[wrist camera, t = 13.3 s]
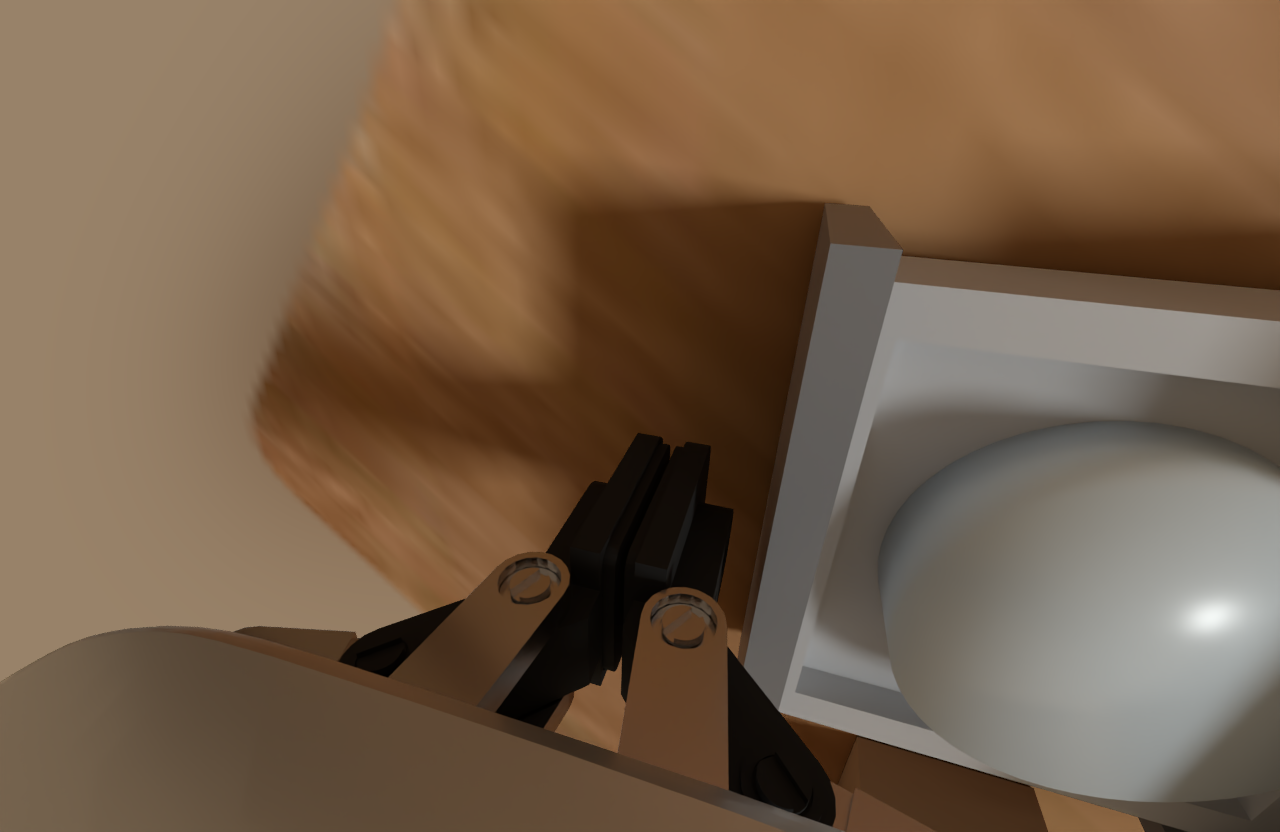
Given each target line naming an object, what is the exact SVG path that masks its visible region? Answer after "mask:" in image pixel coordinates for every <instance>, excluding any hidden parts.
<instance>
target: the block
mask: <svg viewBox="0 0 1280 832" xmlns="http://www.w3.org/2000/svg"><path fill="white" fill-rule="evenodd" d="M838 786H840V787H842V788H844V789H845V790H847V791H849V792H851V793H853V792H854V790H855V788H858V789H860V790H861V791H863V792H865V793H867V794H869V795H871V796H872V797H874V798H876V799H878V800H880V801H881V802H883V803H885V804H887V805H889V806H891V807H892V808H894V809H896V810H898V811H900V812H902V813H903V814H905V815H907V816H909V817H911V818H912V819H914V820H916V821H918V822H920V823H922V824H923V825H925V826H927V827H929V828H931V829H932V830H934V831H936V832H1048V830H1047V827H1046V824H1045V821H1044V818H1043V815H1042V812H1041V809H1040V806H1039V803H1038V800H1037V797H1036V794H1035V791H1034V788H1031V787H1028V786H1024V785H1021V784H1017V783H1014V782H1011V781H1007V780H1004V779H1000V778H997V777H994V776H990V775H987V774H983V773H980V772H976V771H973V770H970V769H966V768H963V767H959V766H956V765H953V764H949V763H946V762H942V761H939V760H936V759H932V758H929V757H925V756H922V755H919V754H915V753H912V752H908V751H905V750H901V749H898V748H895V747H891V746H888V745H884V744H881V743H878V742H874V741H871V740H867V739H864V738H861V737H857V738H856V740H855V743H854V745H853V748H852V750H851V753H850V755H849V758H848V760H847V763H846V765H845V768H844V770H843V773H842V775H841V778H840V780H839V783H838Z"/></svg>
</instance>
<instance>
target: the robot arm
mask: <svg viewBox="0 0 1280 832" xmlns="http://www.w3.org/2000/svg"><path fill="white" fill-rule="evenodd" d="M710 452H711V446H708V445H703V444H697V443H692V442H686V443H685V446H684V447H678V446H676V448H675V450H674V452H673V454H672V456H671V458H670V445H667V444H663V439H662V437H658V436H652V435H647V434H641V433H638V434H637V435H636V437H635V439H634V440H633V442H632V444H631V445H630V447H629V449H628V450H627V452H626V454H625V455H624V457H623V459H622V460H621V462H620V464H619V465H618V467H617V469H616V470H615V472H614V474H613V475H612V477H611V479H610V480H609V482H608V484H607V483H603V482H598V481H594V482H592V483H591V484H590V486H589V487H588V489H587V490H586V492H585V493H584V495H583V496H582V498H581V499H580V501H579V502H578V504H577V506H576V507H575V509H574V510H573V512H572V513H571V515H570V516H569V518H568V519H567V521H566V522H565V524H564V526H563V527H562V529H561V530H560V532H559V533H558V535H557V536H556V538H555V539H554V541H553V543H552V544H551V546H550V547H549V549H548V550H547V552H546V553H543V552H527V553H522V554H518V555H515V556H513V557H511V558H509V559H506V560H505V561H504V562H503V563H501V564H500V565H499V566H497V567H496V568H495V569H494V570H493V572H492V573H491V574H490V575H489V576H488V577H487V578H486V579H485V580H484V581H483V582H482V583H481V584H480V585H479V586H478V587H477V588H476V589H475V590H474V591H473V592H472V593H471V594H470V595H469V596H468V597H467V598H466V599H463V600H460V601H457V602H455V603H452V604H449V605H446V606H443V607H440V608H437V609H434V610H431V611H429V612H426V613H423V614H420V615H417V616H414V617H411V618H408V619H405V620H403V621H400V622H397V623H394V624H391V625H388V626H385V627H382V628H379V629H377V630H375V631H373V632H371V633H368V634H366V635H364V636H363V637H362V638H357V636H356V633H355V632H349V631H332V630H315V629H298V628H281V627H265V626H264V627H263V626H257V627H247V628H243V629H240V630H237V631H234V632H231V631H223V630H217V629H210V628H202V627H184V626H157V627H143V628H130V629H123V630H117V631H111V632H107V633H102V634H98V635H93V636H90V637H87V638H84V639H81V640H79V641H76V642H73V643H70V644H68V645H65V646H63V647H62V648H59V649H57V650H55V651H53V652H51V653H49V654H47V655H46V656H44V657H42V658H40V659H38V660H37V661H35V662H33V663H31V664H29V665H28V666H26V667H24V668H23V669H21V670H19V671H17V672H16V673H14V674H12V675H11V676H9V677H7V678H6V679H4V680H3V681H1V682H0V832H936V831H934V830H932V829H931V828H929V827H927V826H925V825H923V824H922V823H920V822H918V821H916V820H914V819H912V818H911V817H909V816H907V815H905V814H903V813H902V812H900V811H898V810H896V809H894V808H892V807H891V806H889V805H887V804H885V803H883V802H881V801H880V800H878V799H876V798H874V797H872V796H871V795H869V794H867V793H865V792H863V791H861V790H860V789H858V788H855V790H854V792H853V793H851V792H849V791H847V790H845V789H844V788H842V787H840V786H838V785H836V784H835V783H833V782H831V781H830V779H829V778H828V776H827V774H826V773H825V771H824V769H823V768H822V766H821V765H820V763H819V762H818V761H817V759H816V758H815V757H814V755H813V754H812V753H811V752H810V750H809V749H808V748H807V747H806V745H805V744H804V743H803V741H802V740H801V739H800V738H799V736H798V735H797V734H796V733H795V731H794V730H793V729H792V728H791V726H790V725H789V724H788V722H787V721H786V720H785V719H784V717H783V716H782V715H781V714H780V712H779V711H778V710H777V709H776V707H775V706H774V705H773V703H772V702H771V701H770V700H769V698H768V697H767V696H766V695H765V693H764V692H763V691H762V689H761V688H760V687H759V686H758V684H757V683H756V682H755V681H754V679H753V678H752V677H751V676H750V674H749V673H748V672H747V670H746V669H745V668H744V667H743V665H742V664H741V663H740V662H739V660H738V659H737V658H736V657H735V655H734V654H733V653H732V651H731V650H730V649H729V648H728V646H727V623H726V618H725V614H724V612H723V611H722V609H721V607H720V605H719V604H718V603H717V601H718V596H719V591H720V587H721V582H722V577H723V572H724V567H725V562H726V556H727V551H728V545H729V539H730V532H731V525H732V518H733V509H730V508H725V507H720V506H715V505H710V504H705V496H706V488H707V479H708V470H709V461H710ZM621 657H622V681H621V695H622V697H623V699H624V701H625V702H626V707H625V712H624V718H623V724H622V730H621V736H620V742H619V748H618V753H615V752H612V751H609V750H606V749H603V748H600V747H597V746H594V745H591V744H588V743H585V742H582V741H579V740H576V739H573V738H570V737H567V736H564V735H561V734H558V733H555V730H556V729H557V727H558V725H559V724H560V722H561V721H562V719H563V717H564V716H565V714H566V712H567V711H568V709H569V707H570V705H571V703H572V700H573V698H574V691H576V690H579V689H581V688H583V687H585V686H587V685H589V684H590V683H592V684H596V685H599V686H601V684H602V681H603V679H604V676H605V673H606V671H607V670H611V671H616V669H617V667H618V665H619V662H620V659H621Z"/></svg>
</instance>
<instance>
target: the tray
mask: <svg viewBox="0 0 1280 832" xmlns="http://www.w3.org/2000/svg"><path fill="white" fill-rule="evenodd" d="M902 252H903V249H902V248H901V247H900V245H899V244H898V243H897V241H896V240H895V239H894V238H893V236H892V235H891V234H890V232H889V231H888V230H887V229H886V227H885V226H884V225H883V223H882V222H881V221H880V219H879V218H878V217H877V216H876V214H875V213H874V212H873V210H872V209H871V208H870V206H859V205H845V204H831V203H825V206H824V211H823V216H822V221H821V226H820V231H819V237H818V242H817V247H816V252H815V257H814V262H813V268H812V273H811V278H810V283H809V288H808V293H807V299H806V304H805V309H804V314H803V319H802V324H801V330H800V335H799V340H798V345H797V350H796V355H795V361H794V366H793V371H792V376H791V381H790V386H789V392H788V397H787V402H786V407H785V412H784V417H783V423H782V428H781V433H780V438H779V443H778V448H777V454H776V459H775V464H774V469H773V474H772V479H771V485H770V490H769V495H768V500H767V505H766V510H765V516H764V521H763V526H762V531H761V536H760V541H759V547H758V552H757V557H756V562H755V567H754V572H753V578H752V583H751V588H750V593H749V598H748V603H747V609H746V614H745V619H744V624H743V629H742V635H741V640H740V646H739V653H738V660H739V662H740V663H741V664H742V665H743V667H744V668H745V669H746V670H747V672H748V673H749V674H750V676H751V677H752V678H753V679H754V681H755V682H756V683H757V684H758V686H759V687H760V688H761V689H762V691H763V692H764V693H765V695H766V696H767V697H768V698H769V700H770V701H771V702H772V703H773V705H774V706H775V707H776V709H777V710H778V711H779V712H781V713H784V714H788V715H791V716H794V717H798V718H801V719H805V720H808V721H812V722H815V723H818V724H822V725H825V726H829V727H832V728H835V729H839V730H842V731H846V732H849V733H853V734H856V735H859V736H863V737H866V738H870V739H873V740H876V741H880V742H883V743H887V744H890V745H894V746H897V747H900V748H904V749H907V750H911V751H914V752H917V753H921V754H924V755H928V756H931V757H935V758H938V759H941V760H945V761H948V762H952V763H955V764H958V765H962V766H965V767H969V768H972V769H976V770H979V771H982V772H986V773H989V774H993V775H996V776H999V777H1003V778H1006V779H1010V780H1013V781H1017V782H1020V783H1023V784H1027V785H1030V786H1034V787H1037V788H1040V789H1044V790H1047V791H1051V792H1054V793H1058V794H1061V795H1064V796H1068V797H1071V798H1075V799H1078V800H1081V801H1085V802H1088V803H1092V804H1095V805H1099V806H1102V807H1105V808H1109V809H1112V810H1116V811H1119V812H1122V813H1126V814H1129V815H1133V816H1136V817H1140V818H1143V819H1146V820H1150V821H1153V822H1157V823H1160V824H1163V825H1167V826H1170V827H1174V828H1177V829H1181V830H1184V831H1187V832H1280V789H1279V790H1275V791H1271V792H1267V793H1261V794H1255V795H1249V796H1243V797H1237V798H1231V799H1220V800H1210V801H1199V802H1139V801H1126V800H1116V799H1106V798H1099V797H1093V796H1087V795H1081V794H1074V793H1070V792H1066V791H1061V790H1057V789H1053V788H1049V787H1045V786H1041V785H1038V784H1035V783H1032V782H1029V781H1025V780H1022V779H1019V778H1016V777H1014V776H1011V775H1009V774H1006V773H1004V772H1001V771H999V770H996V769H994V768H992V767H990V766H988V765H986V764H984V763H982V762H980V761H977V760H975V759H973V758H972V757H970V756H968V755H967V754H965V753H963V752H962V751H960V750H958V749H957V748H955V747H954V746H952V745H951V744H949V743H948V742H947V741H945V740H944V739H943V738H941V737H940V736H939V735H937V734H936V733H935V732H934V731H933V730H932V729H931V728H930V727H929V726H927V725H926V724H925V723H924V722H923V721H922V720H921V719H920V718H919V717H918V715H917V714H916V713H915V712H914V710H913V709H912V708H911V707H910V705H909V704H908V703H907V701H906V699H905V698H904V696H903V694H902V693H901V691H900V689H899V688H898V685H897V682H896V680H895V677H894V675H893V672H892V668H891V662H890V657H889V650H888V644H887V637H886V630H885V623H884V616H883V609H882V602H881V595H880V589H879V582H878V559H879V554H880V548H881V544H882V541H883V539H884V536H885V534H886V531H887V528H888V527H889V525H890V523H891V522H892V520H893V518H894V516H895V515H896V513H897V511H898V510H899V509H900V508H901V507H902V505H903V504H904V503H905V502H906V500H907V499H908V498H909V497H910V496H911V495H912V494H913V493H914V492H915V491H916V490H917V489H918V488H919V487H920V486H921V485H922V484H924V483H925V482H926V481H927V480H928V479H929V478H931V477H932V476H934V475H935V474H936V473H938V472H939V471H941V470H942V469H943V468H945V467H946V466H948V465H949V464H951V463H953V462H955V461H957V460H958V459H960V458H962V457H964V456H966V455H967V454H969V453H971V452H973V451H976V450H978V449H980V448H983V447H985V446H987V445H990V444H992V443H994V442H997V441H1000V440H1003V439H1006V438H1009V437H1013V436H1016V435H1019V434H1022V433H1025V432H1029V431H1034V430H1039V429H1043V428H1048V427H1053V426H1057V425H1066V424H1074V423H1083V422H1092V421H1136V422H1151V423H1161V424H1167V425H1173V426H1179V427H1184V428H1190V429H1194V430H1198V431H1201V432H1205V433H1208V434H1212V435H1215V436H1219V437H1222V438H1225V439H1227V440H1230V441H1232V442H1234V443H1237V444H1239V445H1241V446H1244V447H1246V448H1249V449H1251V450H1253V451H1254V452H1256V453H1258V454H1259V455H1261V456H1263V457H1265V458H1266V459H1268V460H1270V461H1271V462H1273V463H1275V464H1276V465H1278V466H1279V467H1280V290H1269V289H1258V288H1247V287H1236V286H1225V285H1214V284H1203V283H1193V282H1182V281H1171V280H1160V279H1149V278H1138V277H1127V276H1116V275H1105V274H1094V273H1083V272H1073V271H1062V270H1051V269H1040V268H1029V267H1018V266H1007V265H996V264H985V263H974V262H963V261H953V260H942V259H931V258H920V257H909V256H901V255H902Z"/></svg>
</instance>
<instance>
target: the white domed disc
mask: <svg viewBox="0 0 1280 832" xmlns="http://www.w3.org/2000/svg"><path fill="white" fill-rule="evenodd" d="M878 582H879V589H880V595H881V602H882V609H883V616H884V623H885V630H886V637H887V644H888V650H889V657H890V662H891V668H892V672H893V675H894V677H895V680H896V682H897V685H898V688H899V689H900V691H901V693H902V694H903V696H904V698H905V699H906V701H907V703H908V704H909V705H910V707H911V708H912V709H913V710H914V712H915V713H916V714H917V715H918V717H919V718H920V719H921V720H922V721H923V722H924V723H925V724H926V725H927V726H929V727H930V728H931V729H932V730H933V731H934V732H935V733H936V734H937V735H939V736H940V737H941V738H943V739H944V740H945V741H947V742H948V743H949V744H951V745H952V746H954V747H955V748H957V749H958V750H960V751H962V752H963V753H965V754H967V755H968V756H970V757H972V758H973V759H975V760H977V761H980V762H982V763H984V764H986V765H988V766H990V767H992V768H994V769H996V770H999V771H1001V772H1004V773H1006V774H1009V775H1011V776H1014V777H1016V778H1019V779H1022V780H1025V781H1029V782H1032V783H1035V784H1038V785H1041V786H1045V787H1049V788H1053V789H1057V790H1061V791H1066V792H1070V793H1074V794H1081V795H1087V796H1093V797H1099V798H1106V799H1116V800H1126V801H1139V802H1199V801H1210V800H1220V799H1231V798H1237V797H1243V796H1249V795H1255V794H1261V793H1267V792H1271V791H1275V790H1279V789H1280V467H1279V466H1278V465H1276V464H1275V463H1273V462H1271V461H1270V460H1268V459H1266V458H1265V457H1263V456H1261V455H1259V454H1258V453H1256V452H1254V451H1253V450H1251V449H1249V448H1246V447H1244V446H1241V445H1239V444H1237V443H1234V442H1232V441H1230V440H1227V439H1225V438H1222V437H1219V436H1215V435H1212V434H1208V433H1205V432H1201V431H1198V430H1194V429H1190V428H1184V427H1179V426H1173V425H1167V424H1161V423H1151V422H1136V421H1092V422H1083V423H1074V424H1066V425H1057V426H1053V427H1048V428H1043V429H1039V430H1034V431H1029V432H1025V433H1022V434H1019V435H1016V436H1013V437H1009V438H1006V439H1003V440H1000V441H997V442H994V443H992V444H990V445H987V446H985V447H983V448H980V449H978V450H976V451H973V452H971V453H969V454H967V455H966V456H964V457H962V458H960V459H958V460H957V461H955V462H953V463H951V464H949V465H948V466H946V467H945V468H943V469H942V470H941V471H939V472H938V473H936V474H935V475H934V476H932V477H931V478H929V479H928V480H927V481H926V482H925V483H924V484H922V485H921V486H920V487H919V488H918V489H917V490H916V491H915V492H914V493H913V494H912V495H911V496H910V497H909V498H908V499H907V500H906V502H905V503H904V504H903V505H902V507H901V508H900V509H899V510H898V511H897V513H896V515H895V516H894V518H893V520H892V522H891V523H890V525H889V527H888V528H887V531H886V534H885V536H884V539H883V541H882V544H881V548H880V554H879V559H878Z"/></svg>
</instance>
